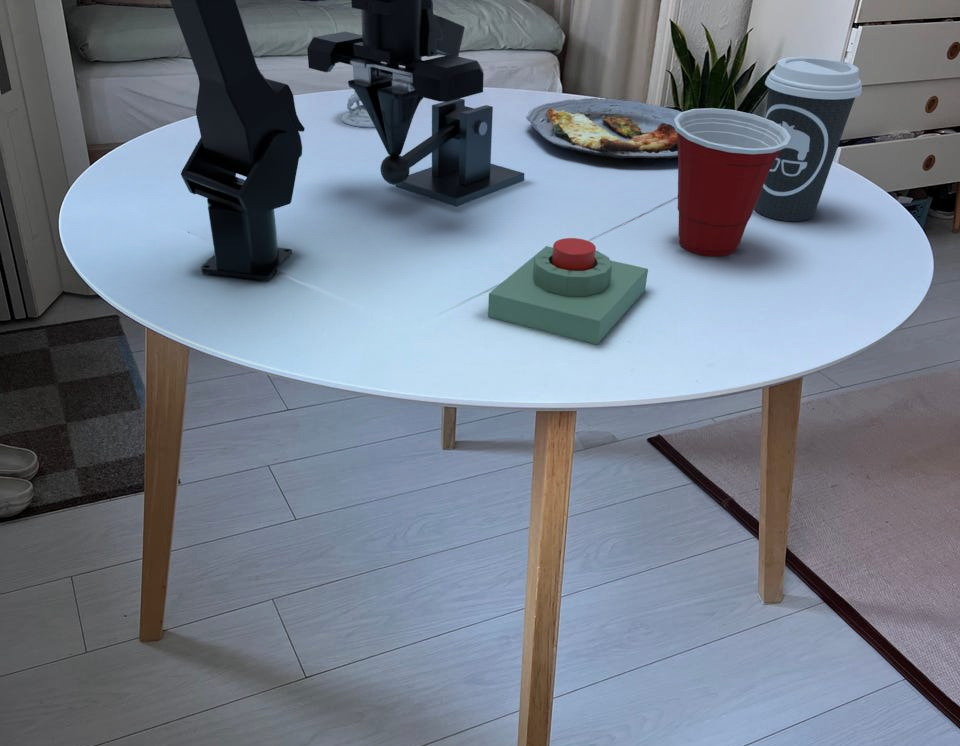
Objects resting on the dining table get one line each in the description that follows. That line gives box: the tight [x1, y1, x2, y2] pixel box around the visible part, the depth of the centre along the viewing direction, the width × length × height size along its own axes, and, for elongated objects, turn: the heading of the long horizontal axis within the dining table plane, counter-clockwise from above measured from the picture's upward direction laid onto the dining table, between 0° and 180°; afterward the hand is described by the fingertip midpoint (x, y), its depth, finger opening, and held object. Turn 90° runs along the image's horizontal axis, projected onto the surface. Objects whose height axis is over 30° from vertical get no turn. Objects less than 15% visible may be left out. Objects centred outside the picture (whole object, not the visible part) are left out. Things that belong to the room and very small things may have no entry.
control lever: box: [379, 105, 475, 186], centre depth 97 cm, size 14×3×3 cm, turn 141°
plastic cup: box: [674, 107, 791, 258], centre depth 88 cm, size 11×11×12 cm
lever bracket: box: [395, 98, 525, 207], centre depth 101 cm, size 12×9×9 cm
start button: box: [552, 237, 597, 271], centre depth 78 cm, size 4×4×2 cm
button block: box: [487, 245, 649, 346], centre depth 79 cm, size 12×10×4 cm
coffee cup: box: [754, 56, 863, 222], centre depth 97 cm, size 10×10×15 cm
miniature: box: [341, 91, 375, 128], centre depth 124 cm, size 8×8×5 cm
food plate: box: [525, 97, 682, 160], centre depth 119 cm, size 25×23×4 cm
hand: (394, 154), depth 94 cm, fingers closed
